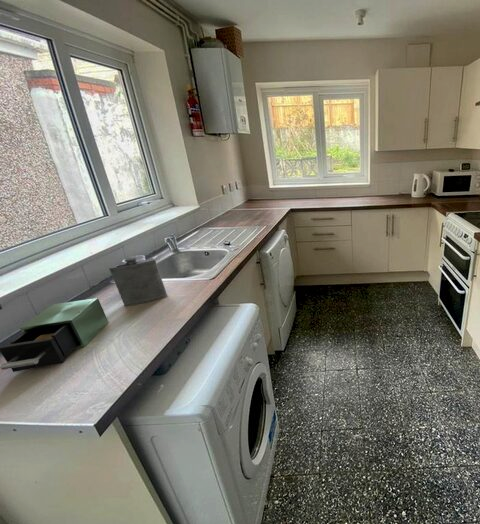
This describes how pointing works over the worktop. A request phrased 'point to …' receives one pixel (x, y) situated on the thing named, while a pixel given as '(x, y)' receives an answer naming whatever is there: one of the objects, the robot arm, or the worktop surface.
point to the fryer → (73, 319)
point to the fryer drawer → (39, 348)
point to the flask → (138, 281)
